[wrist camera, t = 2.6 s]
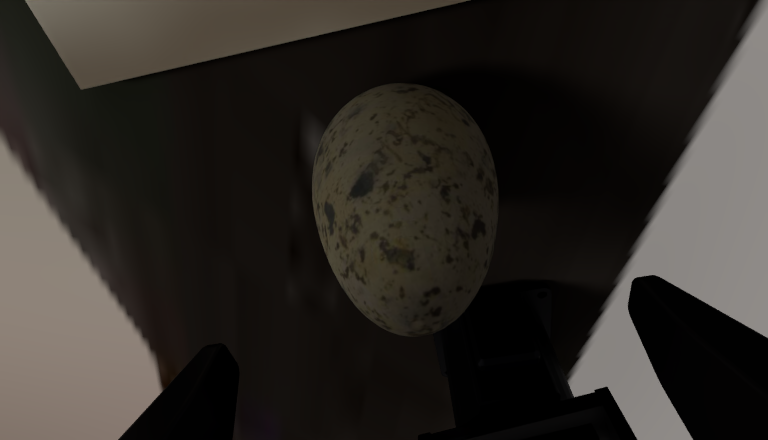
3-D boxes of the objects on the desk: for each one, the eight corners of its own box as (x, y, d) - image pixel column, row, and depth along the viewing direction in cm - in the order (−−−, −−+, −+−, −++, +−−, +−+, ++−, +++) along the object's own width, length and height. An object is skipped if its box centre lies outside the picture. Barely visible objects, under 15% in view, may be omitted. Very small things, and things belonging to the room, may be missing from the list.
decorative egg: (490, 74, 16) (610, 233, 8) (446, 203, 20) (499, 408, 11) (334, 42, 15) (291, 184, 7) (316, 183, 19) (274, 387, 11)
